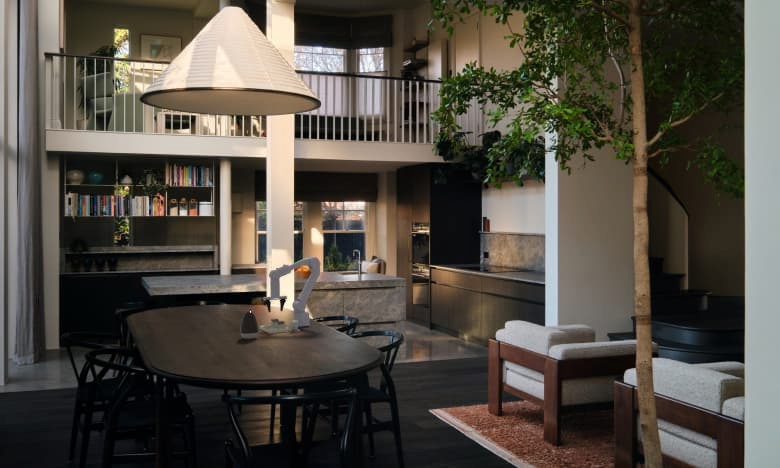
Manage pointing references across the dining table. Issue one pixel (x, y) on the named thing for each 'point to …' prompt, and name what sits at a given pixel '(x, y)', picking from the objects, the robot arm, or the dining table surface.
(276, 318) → the plunger
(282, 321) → the plunger
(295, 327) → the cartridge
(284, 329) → the housing
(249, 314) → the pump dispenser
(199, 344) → the dining table surface
